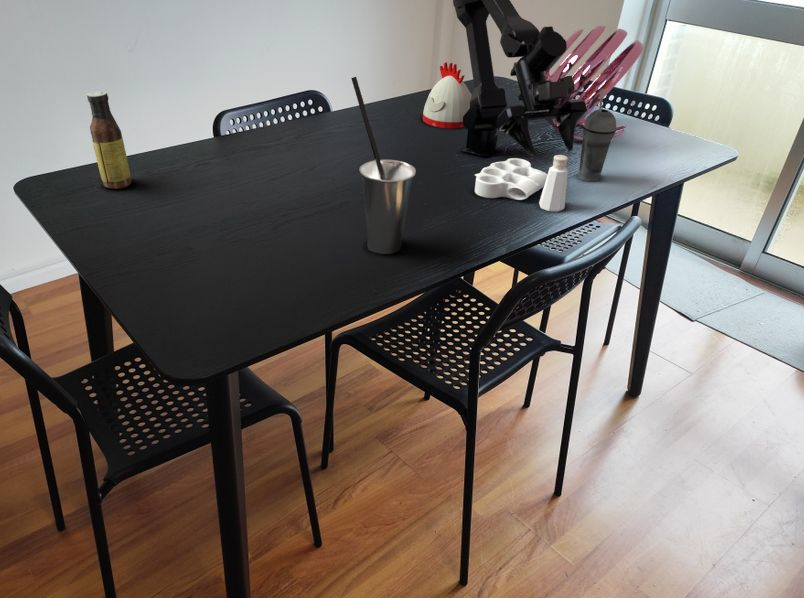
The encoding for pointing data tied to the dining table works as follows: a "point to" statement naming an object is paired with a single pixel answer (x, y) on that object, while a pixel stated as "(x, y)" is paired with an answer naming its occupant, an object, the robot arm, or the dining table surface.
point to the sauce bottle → (108, 143)
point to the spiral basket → (595, 69)
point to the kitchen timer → (447, 100)
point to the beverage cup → (596, 142)
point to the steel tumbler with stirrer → (384, 194)
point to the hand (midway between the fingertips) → (551, 152)
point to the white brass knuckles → (509, 180)
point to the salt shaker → (555, 186)
